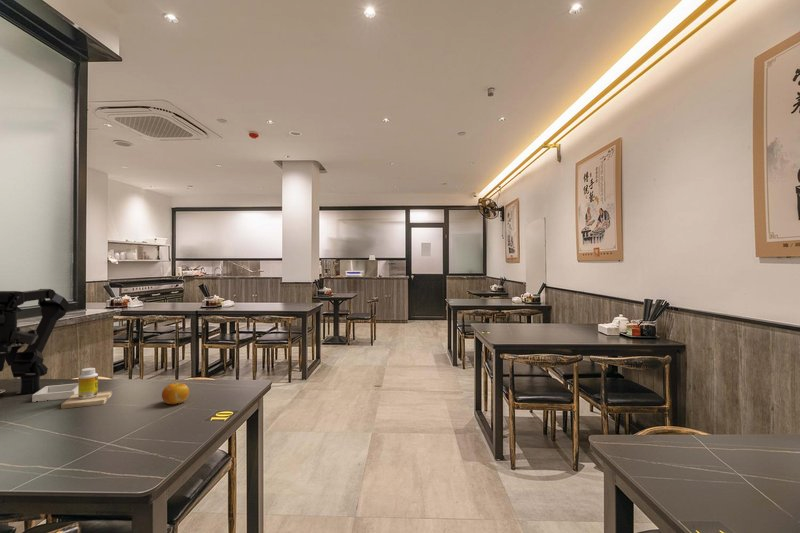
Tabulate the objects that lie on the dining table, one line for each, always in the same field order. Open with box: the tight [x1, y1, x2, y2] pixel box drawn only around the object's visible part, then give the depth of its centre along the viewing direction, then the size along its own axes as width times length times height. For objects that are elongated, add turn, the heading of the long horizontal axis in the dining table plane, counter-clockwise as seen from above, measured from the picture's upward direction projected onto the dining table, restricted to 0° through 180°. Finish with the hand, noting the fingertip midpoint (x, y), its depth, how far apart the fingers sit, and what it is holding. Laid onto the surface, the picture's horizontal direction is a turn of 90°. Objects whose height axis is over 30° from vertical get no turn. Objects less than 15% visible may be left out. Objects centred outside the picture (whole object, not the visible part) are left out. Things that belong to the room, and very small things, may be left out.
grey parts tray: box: [31, 382, 78, 403], centre depth 149 cm, size 12×12×2 cm
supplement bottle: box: [77, 367, 99, 399], centre depth 143 cm, size 6×6×10 cm
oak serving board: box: [60, 390, 113, 410], centre depth 143 cm, size 12×12×2 cm
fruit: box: [161, 382, 190, 405], centre depth 142 cm, size 8×8×8 cm
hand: (5, 368), depth 142 cm, fingers open, 9 cm apart
